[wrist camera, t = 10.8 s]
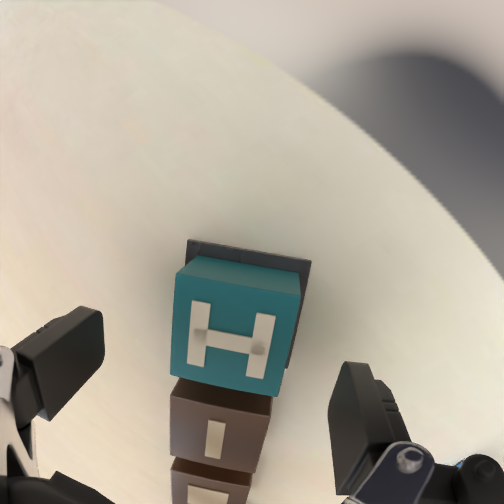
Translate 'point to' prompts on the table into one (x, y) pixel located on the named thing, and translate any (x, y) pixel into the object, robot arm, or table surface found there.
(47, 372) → the robot arm
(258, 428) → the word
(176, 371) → the teal letter h block
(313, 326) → the table surface
